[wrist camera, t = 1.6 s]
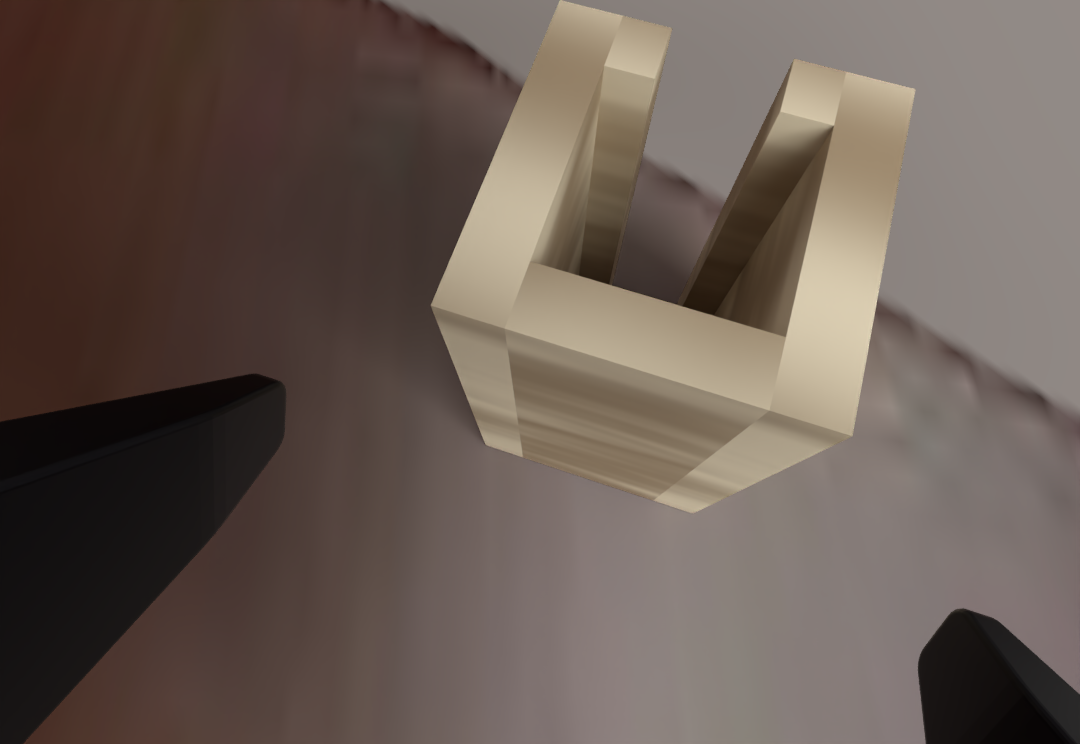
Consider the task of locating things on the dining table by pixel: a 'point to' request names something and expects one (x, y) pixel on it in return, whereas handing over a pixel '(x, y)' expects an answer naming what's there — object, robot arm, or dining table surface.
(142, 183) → the dining table surface
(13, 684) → the robot arm
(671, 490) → the beech collar
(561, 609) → the dining table surface
